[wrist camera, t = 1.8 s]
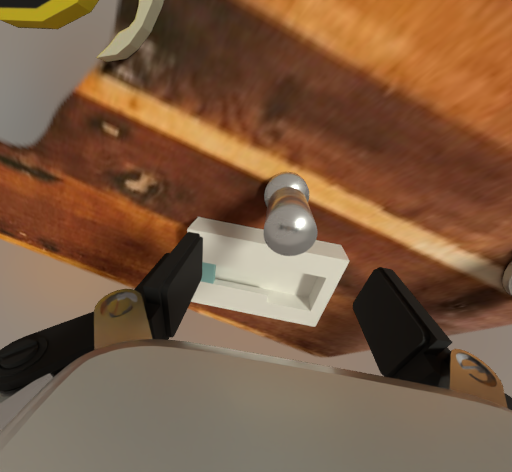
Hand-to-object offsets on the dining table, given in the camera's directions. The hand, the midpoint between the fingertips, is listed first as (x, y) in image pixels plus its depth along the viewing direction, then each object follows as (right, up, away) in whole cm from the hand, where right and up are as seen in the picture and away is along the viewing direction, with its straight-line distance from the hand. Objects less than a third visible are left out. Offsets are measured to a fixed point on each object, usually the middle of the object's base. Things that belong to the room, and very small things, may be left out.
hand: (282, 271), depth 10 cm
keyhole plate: (-1, -3, +19) cm, 19 cm away
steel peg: (+2, +7, +13) cm, 15 cm away
